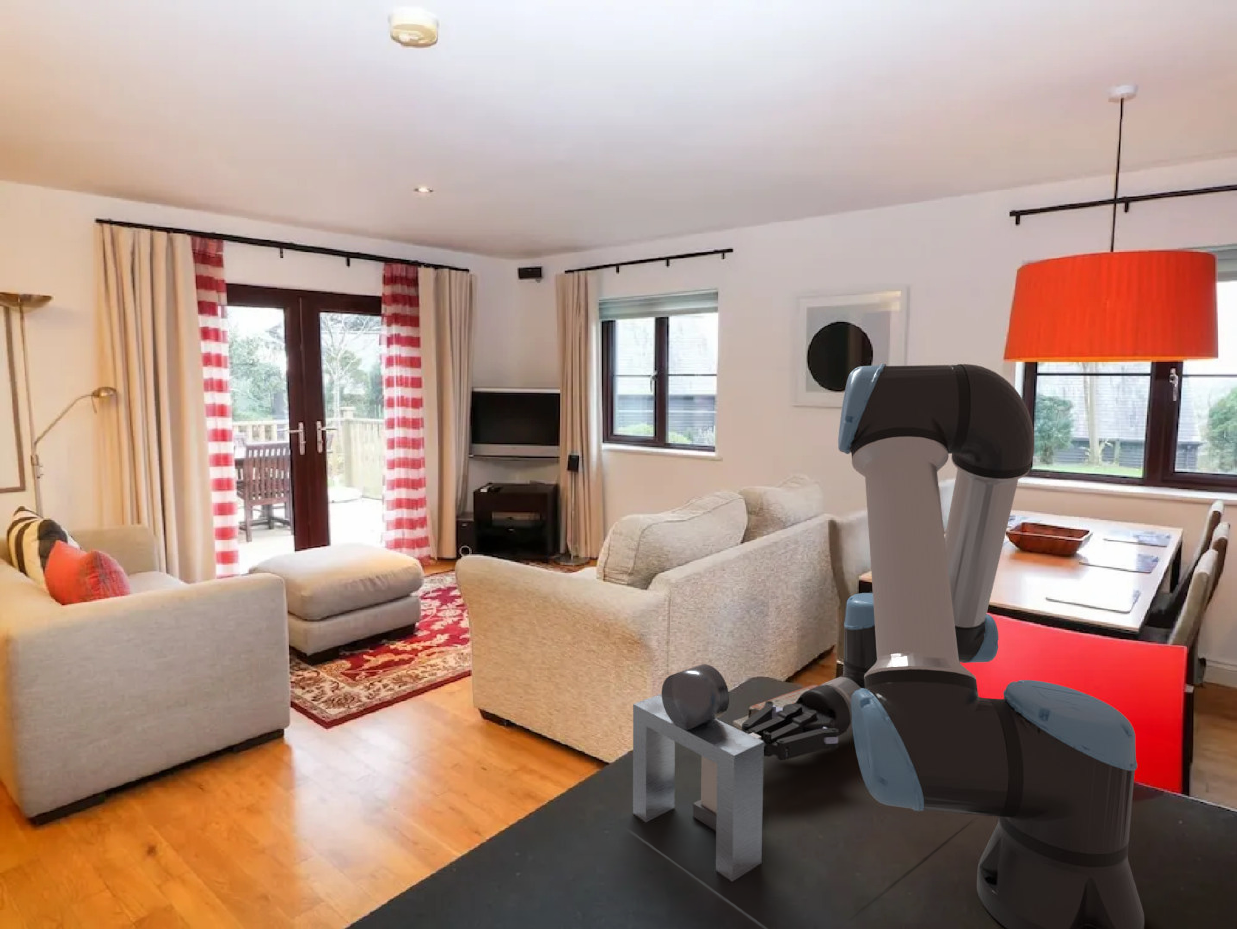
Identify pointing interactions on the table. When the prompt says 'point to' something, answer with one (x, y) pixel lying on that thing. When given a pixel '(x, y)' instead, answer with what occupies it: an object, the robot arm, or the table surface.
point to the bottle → (707, 794)
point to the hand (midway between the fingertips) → (724, 758)
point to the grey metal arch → (692, 724)
